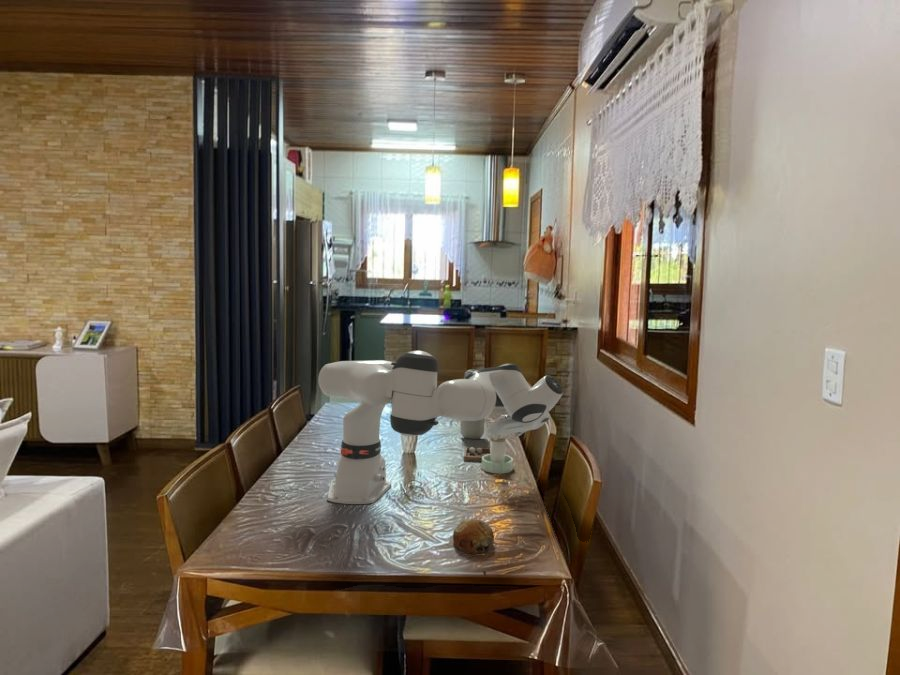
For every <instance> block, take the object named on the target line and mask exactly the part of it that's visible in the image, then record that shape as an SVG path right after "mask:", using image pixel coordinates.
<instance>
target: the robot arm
mask: <svg viewBox="0 0 900 675" xmlns="http://www.w3.org/2000/svg"><path fill="white" fill-rule="evenodd" d="M438 360H439V359H438V358H436V356H434V355H432V354H430V353H429V352H427V351H423V350H412V351H407V352H404V353H403V354H401V355H399V356H398V358H397V359H396V360H395V361H390V360H384V359H377V360H376V359H371V360H341V361H335V362H330V363H327V364H324V366H322V367H321V369H320V371H319V373H318V377H317V378H318V379H317V380H318V386H319V388H320V390H321V392H322V393H323V395H325V396H326V397H332V398H341V399H345V400H351V401H359V402H360V401H361V402H360V403H359V404H358V405H357V406H355V407H352V408H351V409H349V410H348V411H347V412H346V413H345V414H344V417H343V420H342V422H343V423H342V440H341V444H340V455H339V456H338V457H337V467H336V472H335V473H334V479H331V480H330V484H329V488H328V494H327V501H328V502H331V503H335V504H343V505H346V504H347V505H367V504H368V505H369V504H373V503H375V502H376V501H378V499H380V498H381V497H382V496H383V495H384V494H385V493H386V492H387V491H389V489H390V488H391V487H392V483H391V482H390V481H388V480H387V472H386V471H387V468H386V467H387V466H386V459H385V458H384V457H383V456H382V454H381V450H382V449H381V448H382V443H381V439H380V433H381V432H380V431H381V430H380V428H381V420H382V419H381V418H382V414H383V412H384V409H385V407H386V405H387V404H389V403H391V414H390V416H389V419H390V426H391V429H392V430H393V431H394V432H396V433H398V434H401V435H402V436H404V437H417V436H422V435H425V434H427V433H428V432H429V431H431V429H432V428H433V427H434V426H437V425H438V424H439V421H438V420H437V418H438V417H444V418H447V419H448V418H449V419H451V420H456V421H460V420H462V421H478V420H482V419H484V418H485V419H486V418H488V417H489V416H490V415H491V414H492V412H493V411H494V409H495V407H496V403H497V396H498V398H499V400H500V401H501V403H502V405H503V407H504V408H505V410H506V412H507V413H508V414H502V415H500V416H499V417H497V418H496V419H495V420H494V421H492V423H490V424H489V426H488V428H489V432H490V434H491V435H493V438H494V440H498V439H499V438H500V435H503V436H505V435H506V436H507V435H511V434H515V436H516V437H520V436H522V435H523V434H524V433H526V432H528V431H533V430H537V429H540V428H541V427H543V425H544V424H546V423H547V422H548V421H550V420H551V419H552V417H551V414H550V411H552V409H553V408H554V407H555V406H556V405H557V404H558V402H559V400H560V399H562V398H561V397H562V396H563V394H564V390H563V387H562V385H561V384H560V382H559V381H558V379H556V378H555V377H553V376H551V375H545V376H544V375H543V377H542V378H540V379H539V380H538V381H537V382H536V383H534V385H533V386H530V385H529V382H528V381H527V380H526V378H525V377H524V374H523V372H522V370H521V368H520V367H519V365H517V364H513V363H507V362H506V363H504V364H500V365H499V366H493V367H487V368H486V367H485V368H480V369H475V370H476V371H473V372H472V373H470V374H469V375H468V376H467V377H466V378H465V379H464V378H458V379H452V380H451V379H450V380H446V381H444V382H442V383H441V384H440V385H438V372H439V361H438Z"/></svg>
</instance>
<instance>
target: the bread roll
mask: <svg viewBox="0 0 900 675" xmlns="http://www.w3.org/2000/svg"><path fill="white" fill-rule="evenodd" d="M452 535H453V536H452V539H453V540H452V541H453V545H454V546H455V547H456V549H458V550H459V551H461V552H463V553H466V554H482V553H485V552H487V551H488V550H490V549H491V548H492V546H493V545H494V543H495V537H494V536H495V535H494V531H493V529H492V527H491V526H490V525H489V524H488V522H486V521H484V520H481V519H478V518H469V519H468V518H467V519H463V520H462V521H461V522H459V523H458V525H457V526H456V527H455V529H454V530H453V534H452Z"/></svg>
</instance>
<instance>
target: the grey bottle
mask: <svg viewBox="0 0 900 675" xmlns="http://www.w3.org/2000/svg"><path fill="white" fill-rule="evenodd" d="M476 370H477V369H468V370H466V371H465V372H464V376H463V379H465V378H466V377H467V376H468V375H469V374H470V373H472V372H473V371H476ZM459 421H460V422H459V423H460V426H459V427H460V428H459V429H460V433H461V436H462V437H463V438H464V439H469V440H479V439H481V438H482V437H483V436H484V434H485V423H486V418H484V419H482V420H478V421H462V420H459Z"/></svg>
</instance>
